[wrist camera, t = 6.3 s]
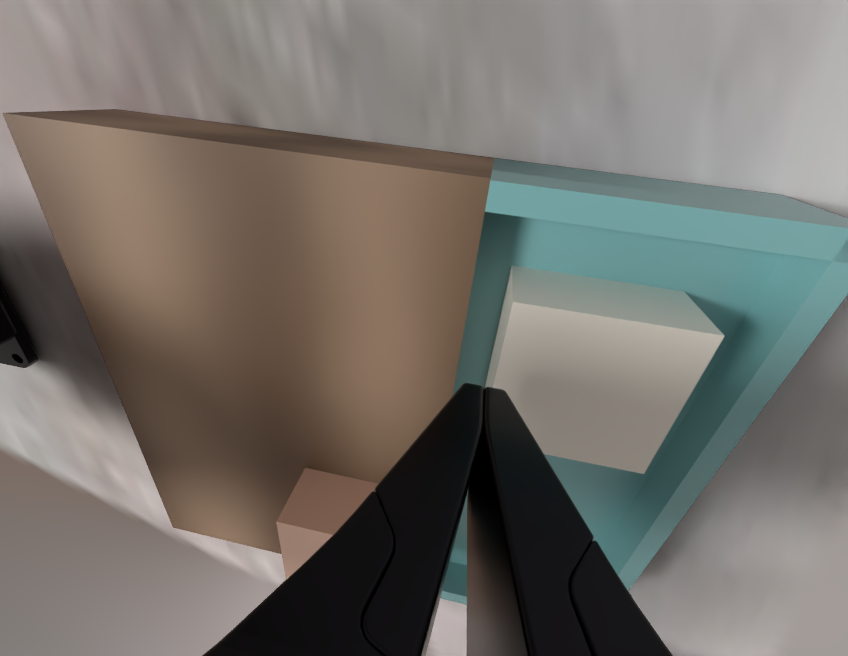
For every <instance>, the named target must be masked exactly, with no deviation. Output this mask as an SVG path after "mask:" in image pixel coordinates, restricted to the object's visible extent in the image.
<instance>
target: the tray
mask: <svg viewBox="0 0 848 656" xmlns="http://www.w3.org/2000/svg"><path fill="white" fill-rule="evenodd" d="M511 265H513V266H520V267H526V268H533V269H539V270H546V271H553V272H559V273H566V274H572V275H579V276H586V277H592V278H599V279H606V280H612V281H619V282H625V283H632V284H639V285H645V286H652V287H658V288H665V289H672V290H678V291H684V292H685V293H686V294H687V295H688V296H689V297H690V299H691V300H692V301H693V302H694V303H695V304H696V305H697V306H698V307H699V308H700V309H701V311H702V312H703V313H704V314H705V315H706V316H707V317H708V318H709V319H710V320H711V321H712V323H713V324H714V325H715V326H716V327H717V328H718V329H719V330H720V331H721V332H722V333H723V335H724V338H723V340H722V342H721V343H720V345H719V347H718V348H717V350H716V352H715V353H714V355H713V357H712V359H711V360H710V362H709V364H708V365H707V367H706V369H705V371H704V372H703V374H702V376H701V377H700V379H699V381H698V382H697V384H696V386H695V388H694V389H693V391H692V393H691V394H690V396H689V398H688V400H687V401H686V403H685V405H684V406H683V408H682V410H681V411H680V413H679V415H678V417H677V418H676V420H675V422H674V423H673V425H672V427H671V429H670V430H669V432H668V434H667V435H666V437H665V439H664V440H663V442H662V444H661V446H660V447H659V449H658V451H657V452H656V454H655V456H654V457H653V459H652V461H651V463H650V464H649V466H648V468H647V469H646V471H645V473H644V474H641V473H636V472H631V471H626V470H621V469H616V468H611V467H606V466H601V465H596V464H591V463H586V462H581V461H576V460H571V459H566V458H561V457H556V456H551V455H546V454H544V455H545V457H546V458H547V460H548V462H549V463H550V465H551V467H552V468H553V470H554V471H555V473H556V475H557V476H558V478H559V480H560V481H561V483H562V485H563V486H564V488H565V490H566V491H567V493H568V495H569V496H570V498H571V500H572V501H573V503H574V504H575V506H576V508H577V509H578V511H579V513H580V514H581V516H582V518H583V519H584V521H585V523H586V524H587V526H588V528H589V529H590V531H591V533H592V534H593V536H594V539H593V541H594V540H595V541H597V542H598V544H599V545H600V547H601V549H602V550H603V552H604V554H605V555H606V557H607V559H608V560H609V562H610V564H611V565H612V567H613V568H614V570H615V571H616V573H617V575H618V576H619V578H620V579H621V581H622V582H623V584H624V586H625V587H626V589H627V590H628V591H629V589H630V588H631V587H632V585H633V584H634V582H635V581H636V580H637V578H638V577H639V576H640V574H641V573H642V572H643V570H644V569H645V568H646V566H647V565H648V564H649V562H650V561H651V559H652V558H653V557H654V555H655V554H656V553H657V551H658V550H659V549H660V547H661V546H662V545H663V543H664V542H665V541H666V539H667V538H668V536H669V535H670V534H671V532H672V531H673V530H674V528H675V527H676V526H677V524H678V523H679V522H680V520H681V519H682V518H683V516H684V515H685V513H686V512H687V511H688V509H689V508H690V507H691V505H692V504H693V503H694V501H695V500H696V499H697V497H698V496H699V495H700V493H701V492H702V490H703V489H704V488H705V486H706V485H707V484H708V482H709V481H710V480H711V478H712V477H713V476H714V474H715V473H716V472H717V470H718V469H719V467H720V466H721V465H722V463H723V462H724V461H725V459H726V458H727V457H728V455H729V454H730V453H731V451H732V450H733V449H734V447H735V446H736V444H737V443H738V442H739V440H740V439H741V438H742V436H743V435H744V434H745V432H746V431H747V430H748V428H749V427H750V426H751V424H752V423H753V421H754V420H755V419H756V417H757V416H758V415H759V413H760V412H761V411H762V409H763V408H764V407H765V405H766V404H767V403H768V401H769V400H770V398H771V397H772V396H773V394H774V393H775V392H776V390H777V389H778V388H779V386H780V385H781V384H782V382H783V381H784V380H785V378H786V377H787V375H788V374H789V373H790V371H791V370H792V369H793V367H794V366H795V365H796V363H797V362H798V361H799V359H800V358H801V357H802V355H803V354H804V352H805V351H806V350H807V348H808V347H809V346H810V344H811V343H812V342H813V340H814V339H815V338H816V336H817V335H818V334H819V332H820V331H821V329H822V328H823V327H824V325H825V324H826V323H827V321H828V320H829V319H830V317H831V316H832V315H833V313H834V312H835V311H836V309H837V308H838V306H839V305H840V304H841V302H842V301H843V300H844V298H845V297H846V296H847V294H848V218H845V217H842V216H840V215H837V214H834V213H831V212H828V211H826V210H823V209H820V208H817V207H814V206H812V205H809V204H806V203H803V202H800V201H798V200H795V199H792V198H789V197H786V196H784V195H779V194H771V193H763V192H756V191H748V190H740V189H732V188H724V187H717V186H709V185H701V184H693V183H686V182H678V181H670V180H662V179H654V178H647V177H639V176H631V175H623V174H615V173H608V172H600V171H592V170H584V169H576V168H569V167H561V166H553V165H545V164H538V163H530V162H522V161H514V160H506V159H499V158H494V162H493V168H492V174H491V179H490V185H489V191H488V196H487V202H486V208H485V214H484V219H483V225H482V231H481V236H480V242H479V248H478V253H477V259H476V265H475V271H474V276H473V282H472V288H471V293H470V299H469V305H468V310H467V316H466V322H465V327H464V333H463V339H462V345H461V350H460V356H459V362H458V367H457V373H456V379H455V384H454V390H453V395H454V394H455V393H456V391H457V390H458V389H459V388H460V387H461V385H462V384H464V383H471V384H476V385H481V386H483V388H484V387H485V382H486V378H487V373H488V369H489V364H490V360H491V355H492V351H493V346H494V342H495V337H496V333H497V328H498V324H499V319H500V315H501V310H502V306H503V301H504V297H505V292H506V288H507V283H508V279H509V274H510V270H511ZM467 495H468V492H467ZM440 598H441V599H445V600H450V601H454V602H458V603H462V604H466V605H467V496H466V500H465V504H464V508H463V512H462V516H461V520H460V523H459V527H458V531H457V535H456V539H455V543H454V547H453V550H452V554H451V558H450V562H449V566H448V570H447V574H446V577H445V581H444V585H443V589H442V593H441V597H440Z"/></svg>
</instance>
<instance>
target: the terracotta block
mask: <svg viewBox="0 0 848 656" xmlns="http://www.w3.org/2000/svg"><path fill="white" fill-rule="evenodd" d="M377 485H378V484H377V483H373V482H368V481H364V480H359V479H354V478H350V477H345V476H341V475H336V474H332V473H327V472H323V471H318V470H313V469H309V468H305V469H304V471H303V473H302V475H301V477H300V478H299V480H298V482H297V484H296V486H295V488H294V490H293V491H292V493H291V495H290V497H289V499H288V501H287V503H286V504H285V506H284V508H283V510H282V512H281V514H280V516H279V517H278V519H277V521H276V523H277V529H278V535H279V541H280V546H281V552H282V558H283V564H284V569H285V575H286V580H287V579H288V578H289V577H290V576H291V575H292V574H293V573H294V572H295V571H296V570H297V569H298V568H300V567H301V566H302V565H303V564H304V563H305V562H306V561H307V560H308V559H309V558H310V557H311V556H312V555H313V554H314V553H315V552H316V551H317V550H318V549H319V548H320V547H321V546H322V545H323V544H324V543H325V542H326V541H327V540H329V539H330V538H331V537H332V536H333V535H334V534H335V533H336V532H337V530H338V529H339V528H340V527H341V526H342V525H343V524H344V523H345V522H346V521H347V519H348V518H349V517H350V516H351V515H352V514H353V513H354V512H355V511H356V509H357V508H358V507H359V506H360V505H361V504H362V502H363V501H364V500H365V499H366V498H367V497H368V495H369V494H370V493H371V492H372V491H374V490H375V487H376V486H377Z"/></svg>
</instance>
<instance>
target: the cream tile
mask: <svg viewBox="0 0 848 656" xmlns="http://www.w3.org/2000/svg"><path fill="white" fill-rule="evenodd" d="M723 338H724V335H723V333H722V332H721V331H720V330H719V329H718V328H717V327H716V326H715V325H714V324H713V323H712V321H711V320H710V319H709V318H708V317H707V316H706V315H705V314H704V313H703V312H702V311H701V309H700V308H699V307H698V306H697V305H696V304H695V303H694V302H693V301H692V300H691V299H690V297H689V296H688V295H687V294H686V293H685V292H684V291H678V290H672V289H665V288H658V287H652V286H645V285H639V284H632V283H625V282H619V281H612V280H606V279H599V278H592V277H586V276H579V275H572V274H566V273H559V272H553V271H546V270H539V269H533V268H526V267H520V266H513V265H511V270H510V274H509V279H508V283H507V288H506V292H505V297H504V301H503V306H502V310H501V315H500V319H499V324H498V328H497V333H496V337H495V342H494V346H493V351H492V355H491V360H490V364H489V369H488V373H487V378H486V382H485V387H492V388H498V389H503V390H505V391H506V392H507V394H508V396H509V397H510V399H511V400H512V402H513V404H514V405H515V407H516V409H517V410H518V412H519V414H520V415H521V417H522V419H523V420H524V422H525V424H526V425H527V427H528V429H529V430H530V432H531V434H532V435H533V437H534V438H535V440H536V442H537V443H538V445H539V447H540V448H541V450H542V452H543V453H544V454H546V455H551V456H556V457H561V458H566V459H571V460H576V461H581V462H586V463H591V464H596V465H601V466H606V467H611V468H616V469H621V470H626V471H631V472H636V473H641V474H644V473H645V471H646V469H647V468H648V466H649V464H650V463H651V461H652V459H653V457H654V456H655V454H656V452H657V451H658V449H659V447H660V446H661V444H662V442H663V440H664V439H665V437H666V435H667V434H668V432H669V430H670V429H671V427H672V425H673V423H674V422H675V420H676V418H677V417H678V415H679V413H680V411H681V410H682V408H683V406H684V405H685V403H686V401H687V400H688V398H689V396H690V394H691V393H692V391H693V389H694V388H695V386H696V384H697V382H698V381H699V379H700V377H701V376H702V374H703V372H704V371H705V369H706V367H707V365H708V364H709V362H710V360H711V359H712V357H713V355H714V353H715V352H716V350H717V348H718V347H719V345H720V343H721V342H722V340H723ZM485 387H484V389H485Z"/></svg>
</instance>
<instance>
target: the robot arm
mask: <svg viewBox="0 0 848 656" xmlns="http://www.w3.org/2000/svg"><path fill="white" fill-rule="evenodd" d="M37 361H38V357H37V354H36V353H35V351H34V349H33V347H32V345H31V343H30V341H29V339H28V337H27V335H26V333H25V331H24V329H23V328H22V326H21V324H20V322H19V320H18V318H17V316H16V314H15V312H14V310H13V308H12V306H11V304H10V302H9V301H8V299H7V297H6V295H5V293H4V291H3V289H2V287H1V285H0V363H2V364H7V365H12V366H17V367H22V368H26V367H28V366H30V365H32V364H34V363H35V362H37ZM467 492H468V495H467ZM466 496H467V656H673V655H672V654H671V653H670V651H669V650H668V648H667V647H666V646H665V644H664V643H663V641H662V640H661V639H660V637H659V636H658V634H657V633H656V631H655V630H654V628H653V627H652V626H651V624H650V623H649V621H648V620H647V618H646V617H645V616H644V614H643V613H642V611H641V610H640V608H639V607H638V606H637V604H636V603H635V601H634V600H633V598H632V597H631V595H630V593H629V592H628V590H627V589H626V587H625V586H624V584H623V582H622V581H621V579H620V578H619V576H618V575H617V573H616V571H615V570H614V568H613V567H612V565H611V564H610V562H609V560H608V559H607V557H606V555H605V554H604V552H603V550H602V549H601V547H600V545H599V544H598V542H597V541H595V540H594V541H593V539H594V536H593V534H592V533H591V531H590V529H589V528H588V526H587V524H586V523H585V521H584V519H583V518H582V516H581V514H580V513H579V511H578V509H577V508H576V506H575V504H574V503H573V501H572V500H571V498H570V496H569V495H568V493H567V491H566V490H565V488H564V486H563V485H562V483H561V481H560V480H559V478H558V476H557V475H556V473H555V471H554V470H553V468H552V467H551V465H550V463H549V462H548V460H547V458H546V457H545V455H544V453H543V452H542V450H541V448H540V447H539V445H538V443H537V442H536V440H535V438H534V437H533V435H532V434H531V432H530V430H529V429H528V427H527V425H526V424H525V422H524V420H523V419H522V417H521V415H520V414H519V412H518V410H517V409H516V407H515V405H514V404H513V402H512V400H511V399H510V397H509V396H508V394H507V392H506V391H505V390H503V389H498V388H492V387H485V389H484V388H483V386H481V385H476V384H471V383H464V384H462V385H461V387H460V388H459V389H458V390H457V391H456V393H455V394H454V395H453V396H452V397H451V398H450V400H449V401H448V402H447V403H446V404H445V406H444V407H443V408H442V409H441V410H440V411H439V413H438V414H437V415H436V416H435V417H434V419H433V420H432V421H431V422H430V423H429V425H428V426H427V427H426V428H425V429H424V430H423V432H422V433H421V434H420V435H419V436H418V438H417V439H416V440H415V441H414V442H413V444H412V445H411V446H410V447H409V448H408V449H407V451H406V452H405V453H404V454H403V455H402V457H401V458H400V459H399V460H398V461H397V462H396V464H395V465H394V466H393V467H392V468H391V470H390V471H389V472H388V473H387V474H386V476H385V477H384V478H383V479H382V480H381V481H380V483H379V484H378V485H377V486H376V487H375V490H374V491H372V492H371V493H370V494H369V495H368V497H367V498H366V499H365V500H364V501H363V502H362V504H361V505H360V506H359V507H358V508H357V509H356V511H355V512H354V513H353V514H352V515H351V516H350V517H349V518H348V519H347V521H346V522H345V523H344V524H343V525H342V526H341V527H340V528H339V529H338V530H337V532H336V533H335V534H334V535H333V536H332V537H331V538H330V539H329V540H327V541H326V542H325V543H324V544H323V545H322V546H321V547H320V548H319V549H318V550H317V551H316V552H315V553H314V554H313V555H312V556H311V557H310V558H309V559H308V560H307V561H306V562H305V563H304V564H303V565H302V566H301V567H300V568H298V569H297V570H296V571H295V572H294V573H293V574H292V575H291V576H290V577H289V578H288V579H287V580H286V581H284V582H283V583H282V584H281V585H280V586H279V587H278V588H277V589H276V590H275V591H274V592H273V593H272V594H271V595H269V596H268V597H267V598H266V599H265V600H264V601H263V602H262V603H261V604H260V605H259V606H258V607H257V608H255V609H254V610H253V611H252V612H251V613H250V614H249V615H248V616H247V617H246V618H245V619H244V620H243V621H241V622H240V623H239V624H238V625H237V626H236V627H235V628H234V629H233V630H232V631H231V632H229V633H228V634H227V635H226V636H225V637H224V638H223V639H222V640H221V641H219V642H218V643H217V644H216V645H215V646H214V647H213V648H211V649H210V650H209V651H207V652H206V653H205V654H204V655H203V656H425V655H426V651H427V647H428V643H429V639H430V635H431V632H432V628H433V624H434V620H435V616H436V612H437V608H438V605H439V601H440V597H441V593H442V589H443V585H444V581H445V577H446V574H447V570H448V566H449V562H450V558H451V554H452V550H453V547H454V543H455V539H456V535H457V531H458V527H459V523H460V520H461V516H462V512H463V508H464V504H465V500H466Z"/></svg>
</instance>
